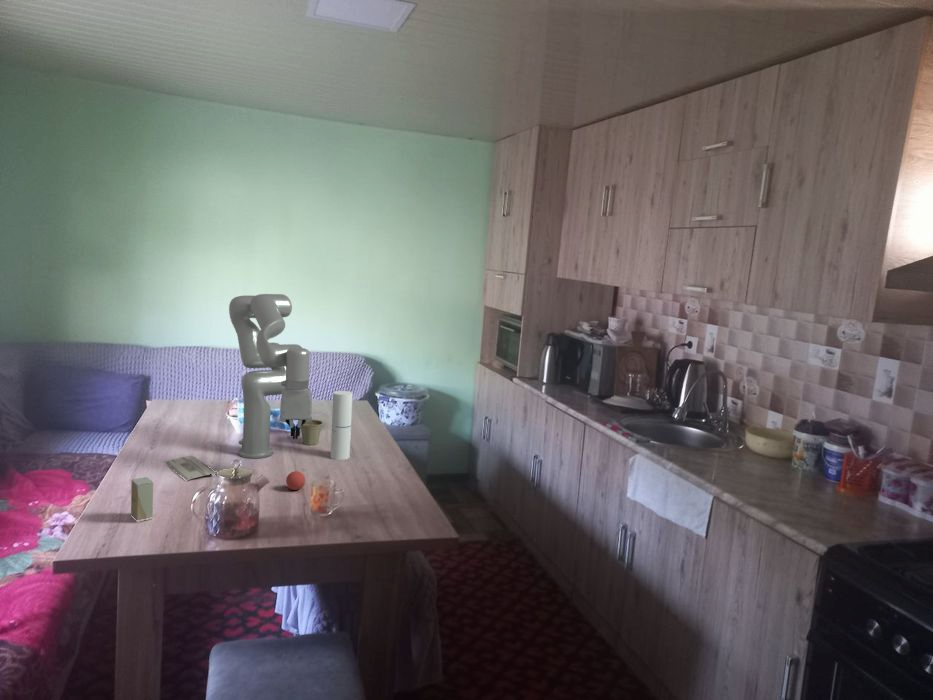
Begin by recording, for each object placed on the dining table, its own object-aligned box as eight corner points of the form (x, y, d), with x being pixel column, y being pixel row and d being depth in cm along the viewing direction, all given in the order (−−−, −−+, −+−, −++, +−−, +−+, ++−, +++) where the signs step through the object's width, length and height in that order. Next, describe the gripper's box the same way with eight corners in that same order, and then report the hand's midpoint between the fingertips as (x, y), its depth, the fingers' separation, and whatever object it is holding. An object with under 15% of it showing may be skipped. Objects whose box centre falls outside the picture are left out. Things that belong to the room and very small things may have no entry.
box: (130, 517, 183) (130, 479, 182) (146, 513, 186) (146, 476, 185) (137, 523, 180) (137, 484, 178) (153, 519, 183) (153, 481, 181)
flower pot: (299, 447, 258) (299, 425, 257) (297, 440, 267) (298, 419, 266) (323, 446, 261) (324, 425, 260) (320, 439, 270) (321, 419, 269)
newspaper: (223, 477, 221) (222, 470, 221) (186, 487, 213) (185, 480, 213) (199, 458, 238) (198, 452, 237) (163, 467, 230) (163, 460, 229)
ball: (282, 480, 208) (281, 482, 214) (296, 492, 208) (295, 494, 214) (296, 466, 211) (294, 468, 216) (310, 478, 211) (308, 481, 217)
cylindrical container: (345, 461, 245) (348, 395, 242) (327, 458, 246) (330, 393, 243) (352, 455, 252) (355, 392, 249) (334, 453, 253) (337, 390, 250)
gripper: (273, 387, 213) (271, 441, 215) (320, 387, 217) (318, 441, 219) (273, 382, 220) (272, 435, 223) (319, 383, 224) (317, 435, 227)
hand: (295, 438), depth 221 cm, fingers closed
